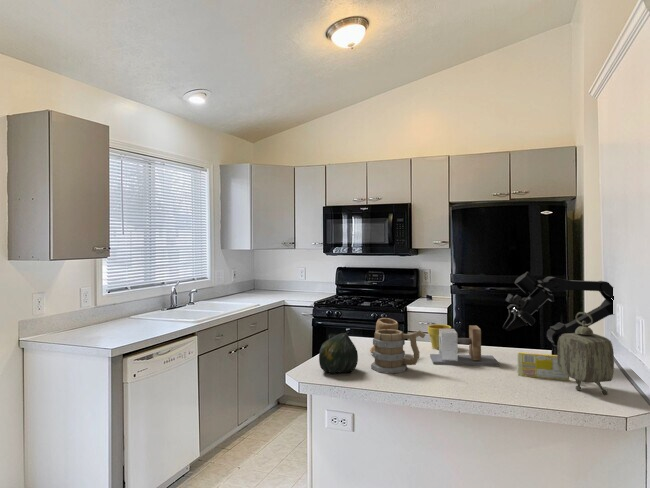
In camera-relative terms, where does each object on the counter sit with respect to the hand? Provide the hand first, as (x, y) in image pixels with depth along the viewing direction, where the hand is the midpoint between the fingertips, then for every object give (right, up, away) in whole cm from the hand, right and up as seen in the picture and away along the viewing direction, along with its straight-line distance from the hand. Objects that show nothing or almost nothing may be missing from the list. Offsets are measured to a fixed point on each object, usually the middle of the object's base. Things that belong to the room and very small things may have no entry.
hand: (505, 329), depth 177 cm
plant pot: (-20, -13, +24) cm, 34 cm away
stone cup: (-45, -14, +16) cm, 50 cm away
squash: (-67, -14, -10) cm, 69 cm away
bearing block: (-22, -12, +3) cm, 25 cm away
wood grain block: (-16, -12, +2) cm, 20 cm away
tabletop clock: (+11, -13, -34) cm, 38 cm away
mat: (-16, -13, +2) cm, 21 cm away
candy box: (+5, -13, -20) cm, 25 cm away
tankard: (-44, -14, -9) cm, 47 cm away
